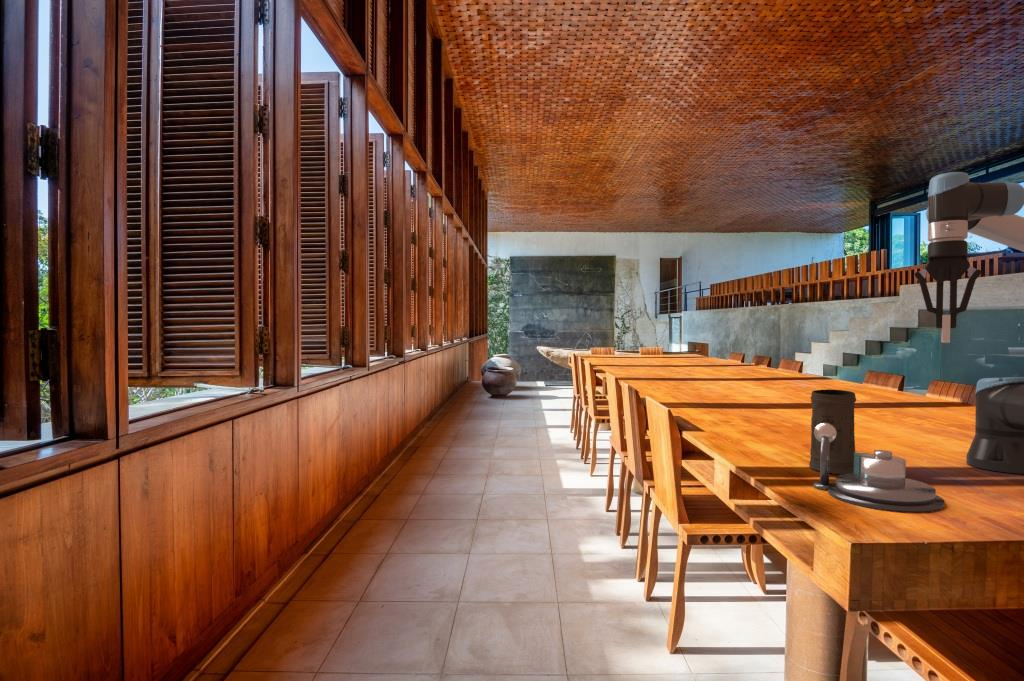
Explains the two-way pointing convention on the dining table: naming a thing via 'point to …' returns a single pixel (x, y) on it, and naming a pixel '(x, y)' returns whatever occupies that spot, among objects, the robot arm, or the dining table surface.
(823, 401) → the beer stein
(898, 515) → the dining table surface
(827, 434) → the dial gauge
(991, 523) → the dining table surface
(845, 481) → the turntable
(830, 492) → the base plate
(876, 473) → the cover
